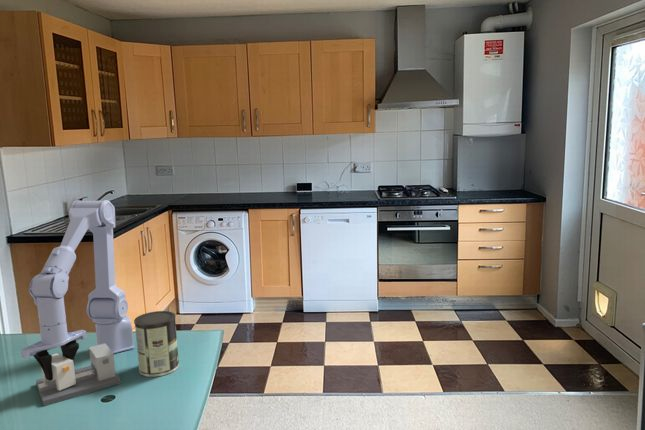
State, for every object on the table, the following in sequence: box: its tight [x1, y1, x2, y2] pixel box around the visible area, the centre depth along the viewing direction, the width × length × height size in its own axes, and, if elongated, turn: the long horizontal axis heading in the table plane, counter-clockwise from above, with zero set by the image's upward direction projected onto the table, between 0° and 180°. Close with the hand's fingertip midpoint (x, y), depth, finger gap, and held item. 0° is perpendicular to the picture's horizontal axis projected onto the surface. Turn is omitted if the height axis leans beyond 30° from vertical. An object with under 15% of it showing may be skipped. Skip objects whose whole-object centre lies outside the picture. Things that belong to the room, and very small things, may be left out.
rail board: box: [35, 343, 121, 407], centre depth 127 cm, size 17×13×7 cm
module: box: [40, 353, 76, 391], centre depth 125 cm, size 4×9×6 cm, turn 52°
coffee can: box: [133, 310, 180, 378], centre depth 134 cm, size 10×10×14 cm
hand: (59, 375), depth 125 cm, fingers closed on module, 4 cm apart
